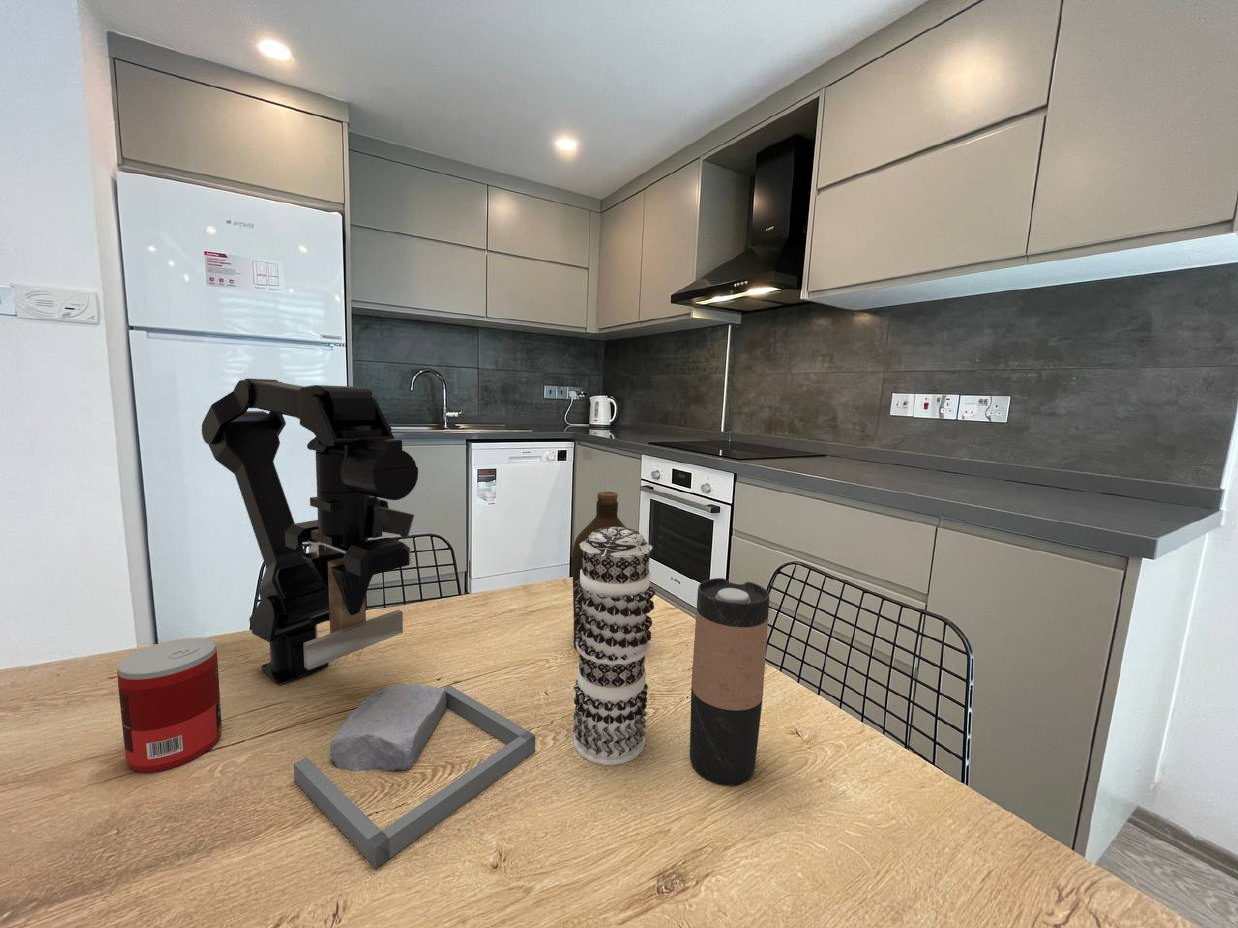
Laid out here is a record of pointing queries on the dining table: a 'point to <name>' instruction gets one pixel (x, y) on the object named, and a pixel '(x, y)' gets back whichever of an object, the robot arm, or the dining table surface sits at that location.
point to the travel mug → (727, 679)
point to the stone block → (389, 728)
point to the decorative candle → (612, 645)
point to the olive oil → (603, 519)
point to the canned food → (169, 703)
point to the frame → (433, 810)
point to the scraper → (348, 628)
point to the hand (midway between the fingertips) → (347, 610)
